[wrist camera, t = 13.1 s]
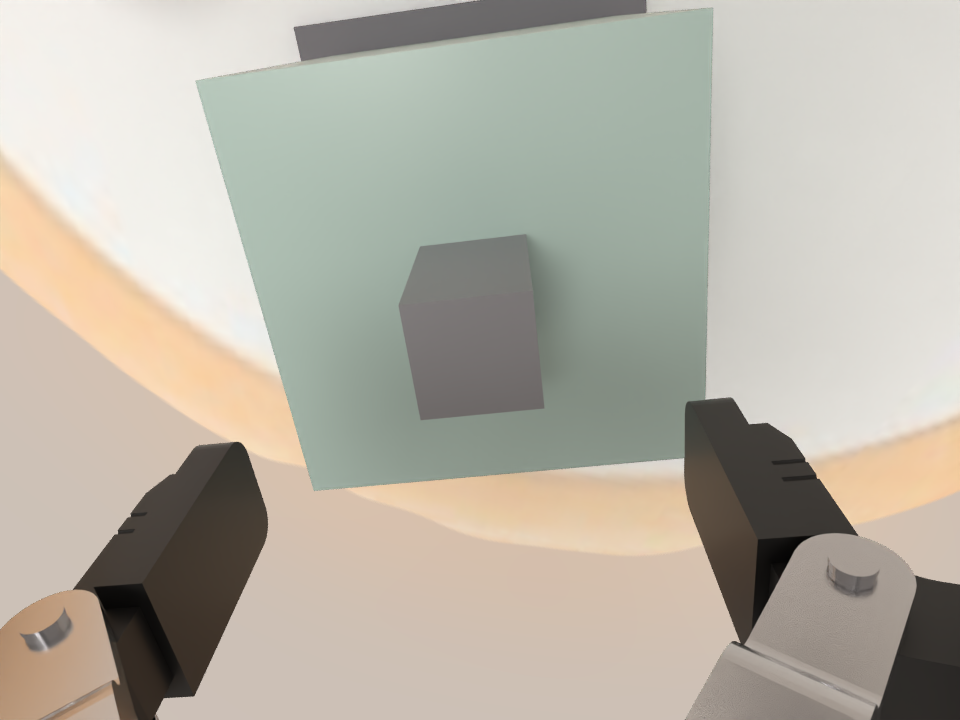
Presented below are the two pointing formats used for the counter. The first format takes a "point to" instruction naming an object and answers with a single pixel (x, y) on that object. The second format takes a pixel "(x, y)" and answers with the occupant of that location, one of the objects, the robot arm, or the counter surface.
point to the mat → (449, 23)
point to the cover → (480, 244)
